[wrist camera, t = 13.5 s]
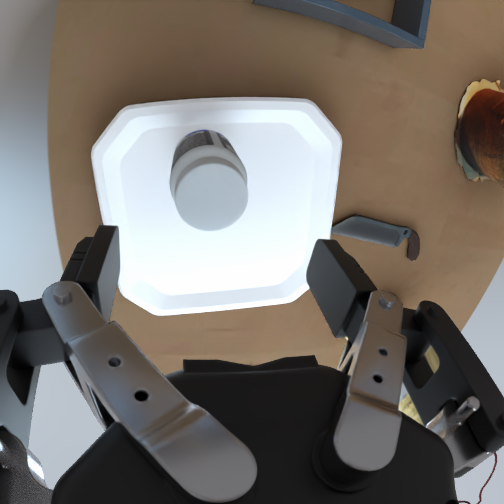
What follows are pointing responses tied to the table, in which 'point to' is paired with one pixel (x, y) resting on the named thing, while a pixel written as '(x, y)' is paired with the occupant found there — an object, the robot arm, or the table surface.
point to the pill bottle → (208, 181)
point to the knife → (378, 233)
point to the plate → (238, 234)
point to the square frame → (367, 19)
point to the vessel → (482, 132)
